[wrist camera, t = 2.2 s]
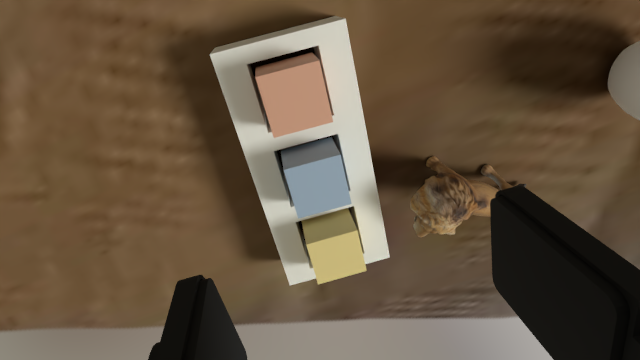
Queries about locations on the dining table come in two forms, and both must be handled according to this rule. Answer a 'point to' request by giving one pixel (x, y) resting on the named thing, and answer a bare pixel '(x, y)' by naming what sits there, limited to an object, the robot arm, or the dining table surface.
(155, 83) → the dining table surface
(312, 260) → the ochre button
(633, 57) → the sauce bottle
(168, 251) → the dining table surface
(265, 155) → the button board
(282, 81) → the terracotta button
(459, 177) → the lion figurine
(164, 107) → the dining table surface
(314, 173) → the blue button
